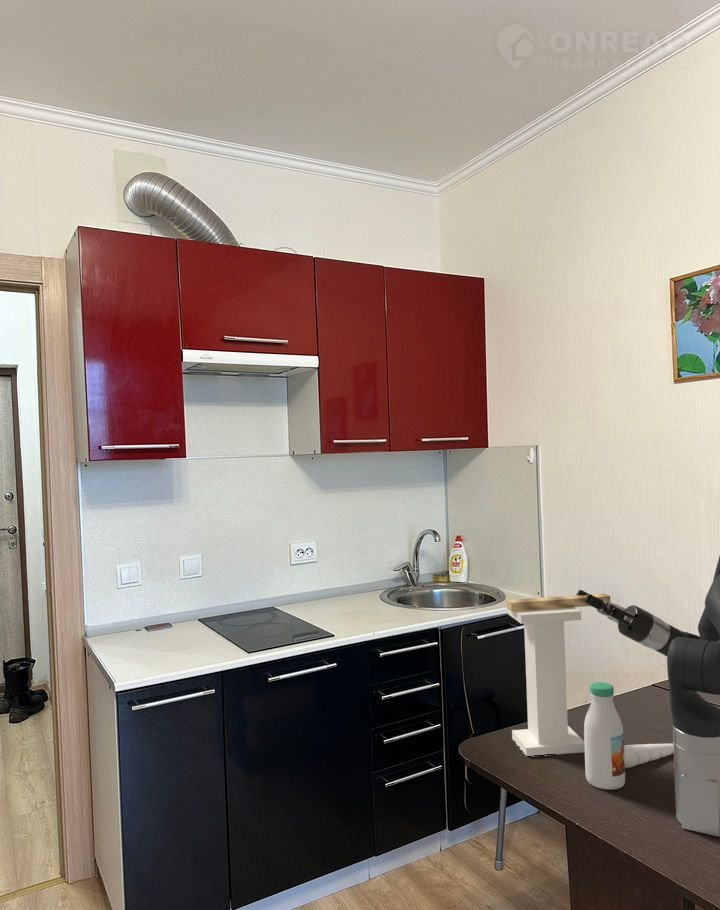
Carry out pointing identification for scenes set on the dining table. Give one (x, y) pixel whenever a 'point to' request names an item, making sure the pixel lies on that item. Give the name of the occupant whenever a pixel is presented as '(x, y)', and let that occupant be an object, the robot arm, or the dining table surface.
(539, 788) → the dining table surface
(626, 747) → the unicorn horn
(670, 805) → the dining table surface
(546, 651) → the stand
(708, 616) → the robot arm
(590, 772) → the milk bottle
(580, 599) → the slat
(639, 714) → the dining table surface
